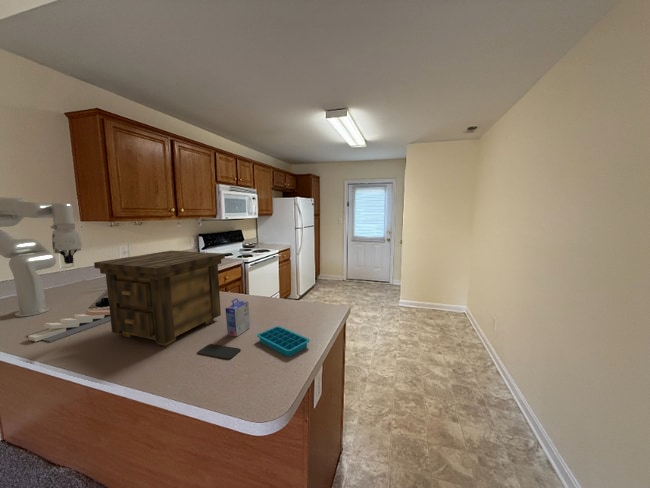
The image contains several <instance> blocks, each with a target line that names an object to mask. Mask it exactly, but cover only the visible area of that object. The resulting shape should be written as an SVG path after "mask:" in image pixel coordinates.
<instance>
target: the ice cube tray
mask: <svg viewBox="0 0 650 488" xmlns="http://www.w3.org/2000/svg"><path fill="white" fill-rule="evenodd" d="M256 337H257V338H259V342H260V343H261V344H263V345H265V346H266V347H268V348H271V349H273V350H274V351H276V352H278V353H280V354H282V355H284V356H286V357H291V356H293V355H295V354H297V353H299V352H301V351H302V350H305V349H306V348H307V347H308V343H310V339H309V338H308V337H305V336H303V335H300V334H298V333H296V332H294V331H291V330H289V329H287V328H285V327H282V326H280V325H279V326H277V325H276V326H274V327H272V328H269V329H266V330H264V331H262V332H260V333H257V334H256Z"/></svg>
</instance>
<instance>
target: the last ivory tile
mask: <svg viewBox="0 0 650 488" xmlns="http://www.w3.org/2000/svg"><path fill="white" fill-rule="evenodd" d="M41 331H42V330H41ZM65 331H66V328H56V329H49V330H46V331H42V332H39V331H38V332H39V333H36V334H33V335H30V336H28V338H27V339H28V341H33V342H38V341H43V340H42V339H45V338H48V337H51V336H54V335H57V334H59V333H62V332H65Z"/></svg>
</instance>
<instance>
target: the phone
mask: <svg viewBox="0 0 650 488" xmlns="http://www.w3.org/2000/svg"><path fill="white" fill-rule="evenodd" d="M241 351H242V349H241V348H238V347H235V346H234V347H232V346H226V345H220V344H215V343H209V344H207V345H205V346H203V348H201V349H199V350H198V351H197V355H201V356H206V357H211V358H216V359H222V360H226V361H229V360H232V359H233V358H234V357H236V356H237V355H238V354H239V353H240V352H241Z"/></svg>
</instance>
